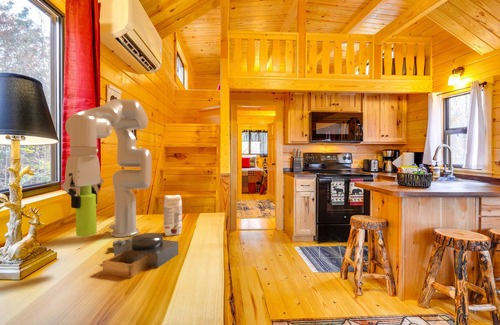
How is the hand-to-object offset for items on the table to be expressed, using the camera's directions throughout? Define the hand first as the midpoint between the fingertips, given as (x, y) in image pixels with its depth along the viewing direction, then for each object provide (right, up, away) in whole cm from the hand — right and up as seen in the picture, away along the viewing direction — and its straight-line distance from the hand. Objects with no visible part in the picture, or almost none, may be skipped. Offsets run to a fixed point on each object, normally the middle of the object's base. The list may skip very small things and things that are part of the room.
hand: (84, 205), depth 90 cm
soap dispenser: (0, -10, 0) cm, 10 cm away
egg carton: (+4, -22, +23) cm, 32 cm away
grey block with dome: (+15, -22, +8) cm, 28 cm away
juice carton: (+17, -21, +44) cm, 52 cm away
